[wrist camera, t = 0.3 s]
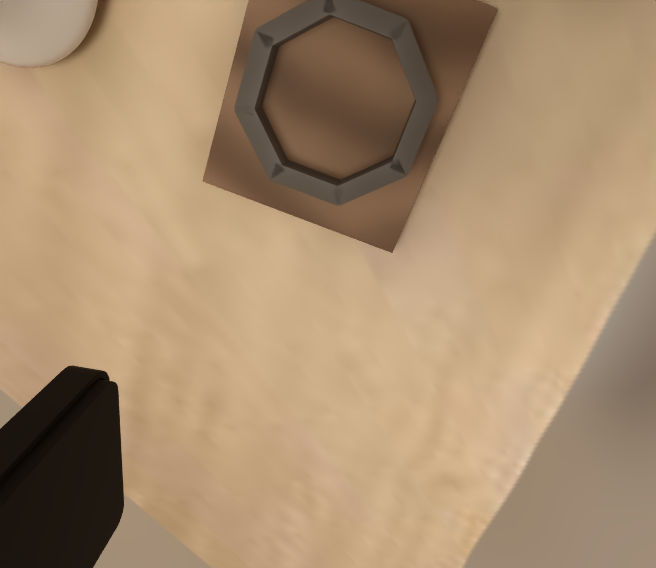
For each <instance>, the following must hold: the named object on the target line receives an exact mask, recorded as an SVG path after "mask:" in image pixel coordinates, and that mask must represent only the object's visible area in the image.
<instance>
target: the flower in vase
mask: <svg viewBox="0 0 656 568" xmlns="http://www.w3.org/2000/svg"><path fill="white" fill-rule="evenodd" d="M97 4H98V0H0V62H2V63H5V64H8V65H12V66H17V67H25V68H35V67H43V66H47V65H50V64H53V63H55V62H58V61H60V60H62V59H63V58H65V57H66V56H68V55H69V54H71V53H72V52H73V51H74V50H75V49H76V48H77V47H78V46H79V44H80V43H81V42H82V40H83V39H84V38H85V36H86V34H87V33H88V31H89V29H90V27H91V24H92V22H93V19H94V16H95V12H96V8H97Z"/></svg>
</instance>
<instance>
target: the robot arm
mask: <svg viewBox="0 0 656 568" xmlns="http://www.w3.org/2000/svg"><path fill="white" fill-rule="evenodd" d="M123 508H124V493H123V473H122V454H121V434H120V414H119V395H118V386H117V384H116V383H115V382H112V381H110V380H109V376H108V374H107V372H105V371H101V370H95V369H89V368H84V367H78V366H68V367H67V368H65V369H64V370H63V371H61V372H60V373H59V374H58V375H57V376H56V377H55V378H54V379H53V380H52V381H51V382H50V383H49V384H48V385H47V386H45V387H44V388H43V389H42V390H41V391H40V392H39V393H38V394H37V395H36V396H35V397H34V398H33V399H32V400H31V401H30V402H28V403H27V404H26V405H25V406H24V407H23V408H22V409H21V410H20V411H19V412H18V413H17V414H16V415H15V416H14V417H12V418H11V419H10V420H9V421H8V422H7V423H6V424H5V425H4V426H3V427H2V428H1V429H0V568H93V567H94V565H95V563H96V561H97V560H98V558H99V556H100V554H101V553H102V551H103V550H104V548H105V546H106V545H107V543H108V541H109V539H110V538H111V536H112V535H113V533H114V531H115V530H116V528H117V526H118V524H119V522H120V519H121V516H122V513H123Z"/></svg>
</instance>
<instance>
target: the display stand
mask: <svg viewBox="0 0 656 568" xmlns="http://www.w3.org/2000/svg"><path fill="white" fill-rule="evenodd" d="M497 10H498V9H497V8H494V7H492V6H489V5H487V4H484V3H481V2H479V1H476V0H249V1H248V5H247V9H246V13H245V17H244V21H243V25H242V29H241V33H240V37H239V41H238V44H237V48H236V52H235V56H234V60H233V64H232V68H231V72H230V76H229V80H228V84H227V87H226V91H225V95H224V99H223V103H222V107H221V111H220V115H219V119H218V123H217V127H216V131H215V134H214V138H213V142H212V146H211V150H210V154H209V158H208V162H207V166H206V170H205V174H204V177H203V182H206V183H208V184H211V185H214V186H216V187H219V188H222V189H224V190H227V191H230V192H232V193H235V194H237V195H240V196H243V197H245V198H248V199H251V200H253V201H256V202H259V203H261V204H264V205H267V206H269V207H272V208H275V209H277V210H280V211H283V212H285V213H288V214H290V215H293V216H296V217H298V218H301V219H304V220H306V221H309V222H312V223H314V224H317V225H320V226H322V227H325V228H328V229H330V230H333V231H336V232H338V233H341V234H343V235H346V236H349V237H351V238H354V239H357V240H359V241H362V242H365V243H367V244H370V245H373V246H375V247H378V248H381V249H383V250H386V251H389V252H391V253H393V250H394V248H395V246H396V243H397V241H398V239H399V236H400V234H401V232H402V230H403V227H404V225H405V223H406V220H407V218H408V216H409V213H410V211H411V209H412V206H413V204H414V202H415V199H416V197H417V195H418V193H419V190H420V188H421V186H422V183H423V181H424V179H425V176H426V174H427V172H428V169H429V167H430V165H431V163H432V160H433V158H434V156H435V153H436V151H437V149H438V146H439V144H440V142H441V139H442V137H443V135H444V133H445V130H446V128H447V126H448V123H449V121H450V119H451V116H452V114H453V112H454V109H455V107H456V105H457V102H458V100H459V98H460V96H461V93H462V91H463V89H464V86H465V84H466V82H467V79H468V77H469V75H470V72H471V70H472V68H473V66H474V63H475V61H476V59H477V56H478V54H479V52H480V49H481V47H482V45H483V42H484V40H485V38H486V36H487V33H488V31H489V29H490V26H491V24H492V22H493V19H494V17H495V15H496V12H497Z"/></svg>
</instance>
